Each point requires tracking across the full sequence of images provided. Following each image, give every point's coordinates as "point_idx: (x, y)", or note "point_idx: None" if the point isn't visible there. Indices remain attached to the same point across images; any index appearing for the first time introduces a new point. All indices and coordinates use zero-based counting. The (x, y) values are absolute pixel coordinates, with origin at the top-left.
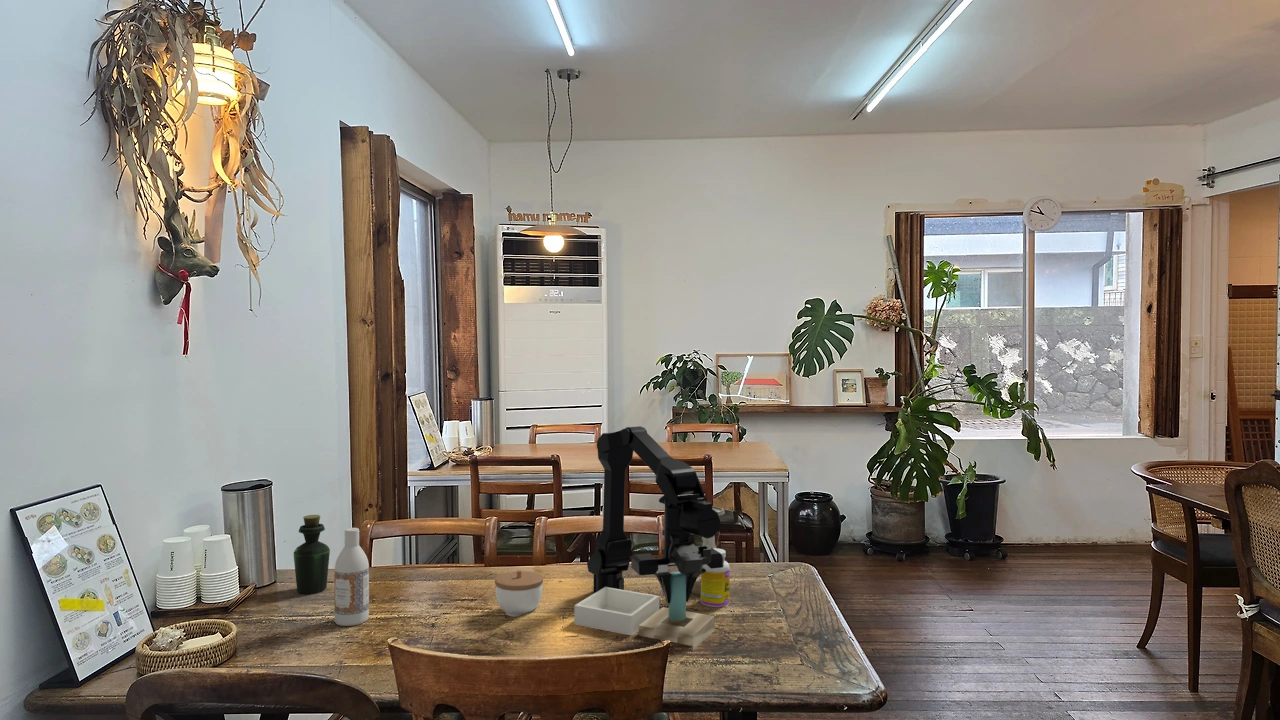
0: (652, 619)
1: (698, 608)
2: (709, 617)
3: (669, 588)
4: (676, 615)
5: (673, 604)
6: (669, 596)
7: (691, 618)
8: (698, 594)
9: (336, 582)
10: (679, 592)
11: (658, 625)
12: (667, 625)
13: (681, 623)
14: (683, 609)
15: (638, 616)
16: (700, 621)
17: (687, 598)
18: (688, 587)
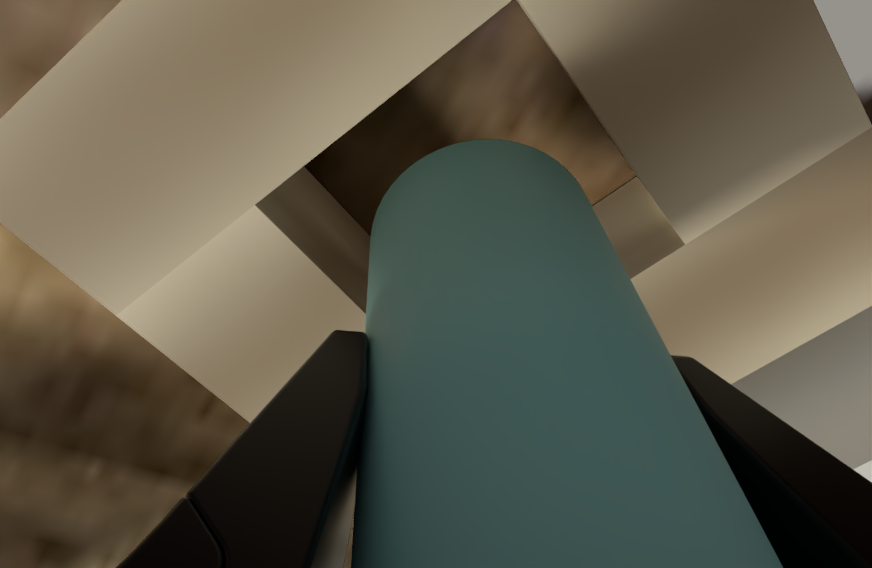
0: (700, 351)
1: (20, 561)
2: (27, 162)
3: (865, 541)
4: (566, 185)
5: (638, 298)
6: (743, 421)
7: (276, 223)
8: None
9: None
10: (625, 393)
11: (764, 182)
12: (675, 137)
13: (367, 269)
14: (462, 208)
15: (869, 401)
16: (203, 86)
17: (345, 352)
18: (326, 499)
